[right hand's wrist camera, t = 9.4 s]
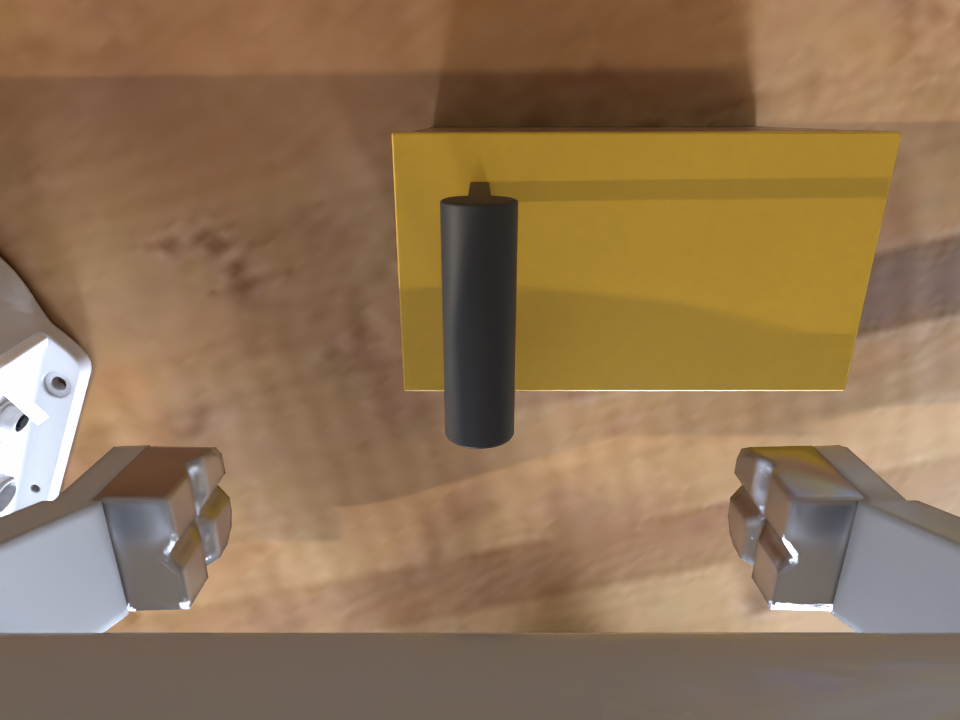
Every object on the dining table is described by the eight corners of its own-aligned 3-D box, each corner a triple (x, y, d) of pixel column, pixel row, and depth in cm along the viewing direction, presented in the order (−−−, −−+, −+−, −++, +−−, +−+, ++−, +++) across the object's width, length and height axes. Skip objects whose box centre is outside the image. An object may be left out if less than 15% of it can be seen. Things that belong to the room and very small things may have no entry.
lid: (407, 379, 27) (374, 495, 19) (395, 131, 23) (348, 139, 15) (829, 379, 27) (982, 495, 18) (881, 131, 23) (1099, 138, 15)
